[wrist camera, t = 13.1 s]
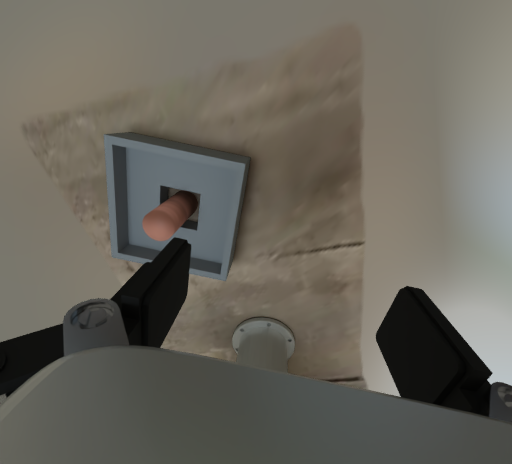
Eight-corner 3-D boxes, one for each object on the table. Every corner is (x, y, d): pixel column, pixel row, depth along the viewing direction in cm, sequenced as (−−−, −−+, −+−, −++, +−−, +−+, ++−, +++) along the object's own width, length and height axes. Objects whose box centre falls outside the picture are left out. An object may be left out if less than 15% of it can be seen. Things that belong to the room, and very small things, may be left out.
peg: (196, 216, 41) (172, 244, 32) (172, 211, 41) (142, 237, 32) (198, 193, 39) (174, 215, 30) (174, 188, 39) (142, 208, 30)
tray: (232, 261, 44) (225, 281, 38) (132, 240, 44) (111, 257, 38) (250, 157, 36) (245, 164, 31) (130, 132, 36) (103, 134, 31)
